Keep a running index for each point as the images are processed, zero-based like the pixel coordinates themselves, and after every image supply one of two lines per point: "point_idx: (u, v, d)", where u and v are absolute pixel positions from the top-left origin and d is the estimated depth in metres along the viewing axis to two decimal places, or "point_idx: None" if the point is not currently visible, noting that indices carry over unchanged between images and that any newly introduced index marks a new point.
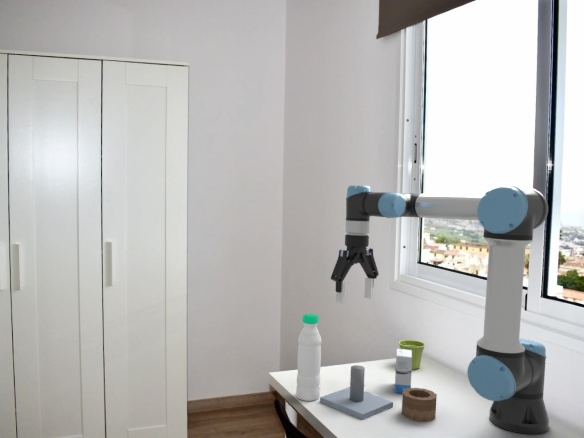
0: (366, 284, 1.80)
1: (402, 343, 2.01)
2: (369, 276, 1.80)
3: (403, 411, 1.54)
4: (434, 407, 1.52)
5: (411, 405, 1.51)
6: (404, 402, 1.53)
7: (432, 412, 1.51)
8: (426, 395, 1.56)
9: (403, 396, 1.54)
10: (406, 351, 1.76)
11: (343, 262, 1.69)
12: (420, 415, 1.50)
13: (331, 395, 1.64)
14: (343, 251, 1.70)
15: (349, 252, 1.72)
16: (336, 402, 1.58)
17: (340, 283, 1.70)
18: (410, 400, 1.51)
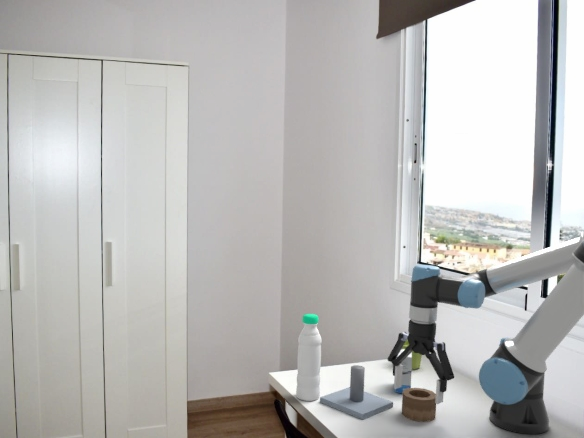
0: None
1: None
2: None
3: (403, 411, 1.54)
4: (434, 407, 1.52)
5: (411, 405, 1.51)
6: (404, 402, 1.53)
7: (432, 412, 1.51)
8: (426, 395, 1.56)
9: (403, 396, 1.54)
10: None
11: (396, 345, 1.58)
12: (420, 415, 1.50)
13: (331, 395, 1.64)
14: None
15: (407, 337, 1.56)
16: (336, 402, 1.58)
17: (394, 366, 1.59)
18: (410, 400, 1.51)
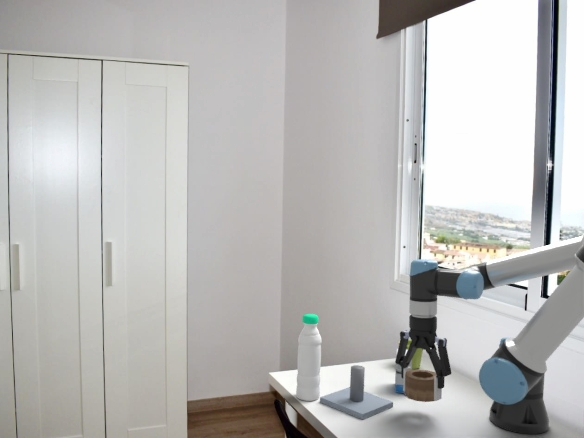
0: None
1: None
2: None
3: (406, 392, 1.53)
4: None
5: (414, 386, 1.50)
6: (407, 383, 1.53)
7: None
8: (429, 376, 1.56)
9: (406, 377, 1.53)
10: (406, 351, 1.76)
11: (400, 344, 1.58)
12: (423, 395, 1.49)
13: (331, 395, 1.64)
14: None
15: (408, 333, 1.56)
16: (336, 402, 1.58)
17: (403, 368, 1.58)
18: (413, 380, 1.51)
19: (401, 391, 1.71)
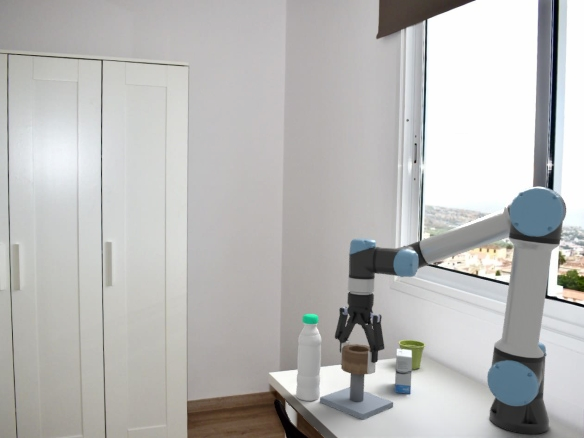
0: None
1: (402, 343, 2.01)
2: None
3: (342, 365, 1.59)
4: None
5: (349, 359, 1.57)
6: (343, 356, 1.59)
7: None
8: (365, 351, 1.62)
9: (342, 351, 1.59)
10: (406, 351, 1.76)
11: (339, 320, 1.63)
12: (357, 368, 1.56)
13: (331, 395, 1.64)
14: None
15: None
16: (336, 402, 1.58)
17: (341, 343, 1.64)
18: (348, 354, 1.57)
19: (401, 391, 1.71)
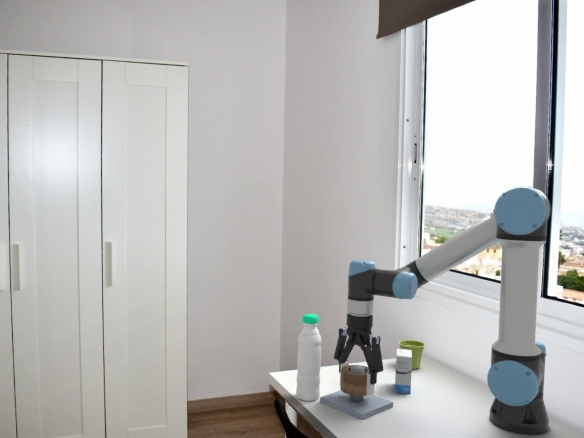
0: None
1: (402, 343, 2.01)
2: None
3: (341, 386, 1.60)
4: None
5: (348, 380, 1.57)
6: (342, 378, 1.59)
7: None
8: None
9: (341, 372, 1.60)
10: (406, 351, 1.76)
11: (339, 341, 1.64)
12: (356, 390, 1.56)
13: (331, 395, 1.64)
14: None
15: None
16: (336, 402, 1.58)
17: (340, 364, 1.64)
18: (347, 375, 1.57)
19: (401, 391, 1.71)
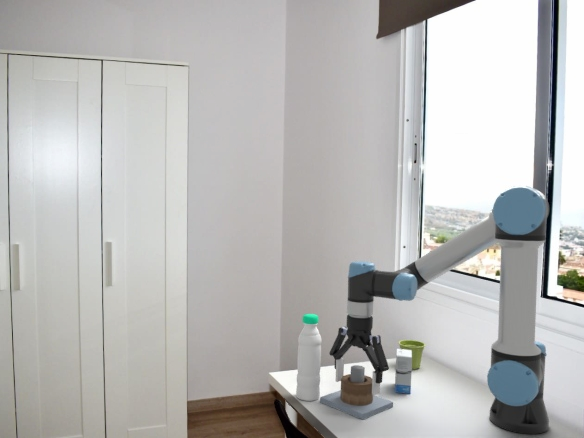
0: None
1: (402, 343, 2.01)
2: None
3: (341, 396, 1.60)
4: (370, 392, 1.58)
5: (348, 390, 1.57)
6: (342, 387, 1.59)
7: (368, 397, 1.57)
8: (364, 381, 1.62)
9: (341, 381, 1.60)
10: (406, 351, 1.76)
11: (337, 339, 1.64)
12: (356, 399, 1.56)
13: (331, 395, 1.64)
14: None
15: (346, 331, 1.62)
16: (336, 402, 1.58)
17: (336, 360, 1.65)
18: (347, 385, 1.57)
19: (401, 391, 1.71)
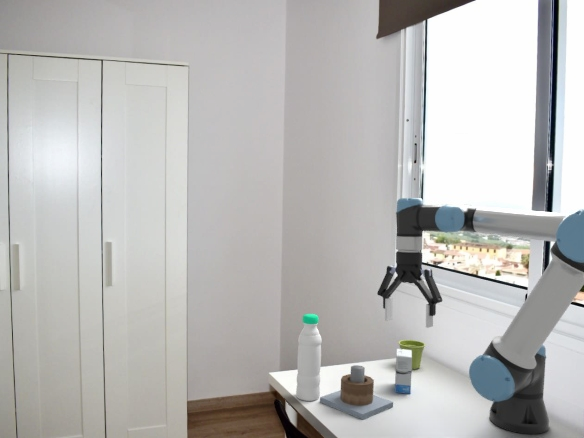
0: None
1: (402, 343, 2.01)
2: None
3: (341, 396, 1.60)
4: (370, 392, 1.58)
5: (348, 390, 1.57)
6: (342, 387, 1.59)
7: (368, 397, 1.57)
8: (364, 381, 1.62)
9: (341, 381, 1.60)
10: (406, 351, 1.76)
11: (385, 278, 1.65)
12: (356, 399, 1.56)
13: (331, 395, 1.64)
14: None
15: (395, 269, 1.63)
16: (336, 402, 1.58)
17: (384, 299, 1.65)
18: (347, 385, 1.57)
19: (401, 391, 1.71)
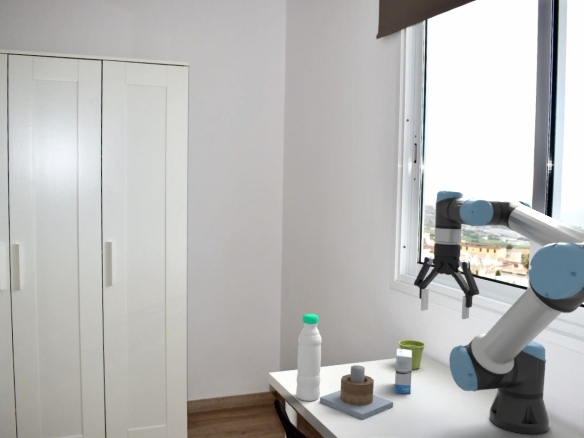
0: None
1: (402, 343, 2.01)
2: None
3: (341, 396, 1.60)
4: (370, 392, 1.58)
5: (348, 390, 1.57)
6: (342, 387, 1.59)
7: (368, 397, 1.57)
8: (364, 381, 1.62)
9: (341, 381, 1.60)
10: (406, 351, 1.76)
11: (422, 268, 1.67)
12: (356, 399, 1.56)
13: (331, 395, 1.64)
14: None
15: (433, 260, 1.65)
16: (336, 402, 1.58)
17: (421, 289, 1.68)
18: (347, 385, 1.57)
19: (401, 391, 1.71)
